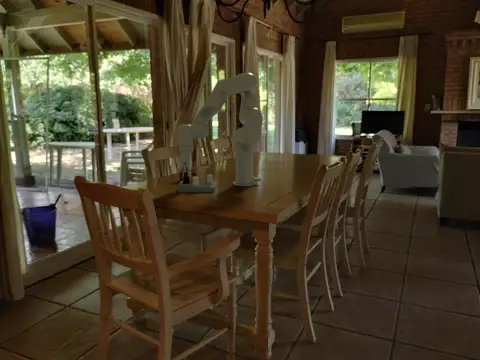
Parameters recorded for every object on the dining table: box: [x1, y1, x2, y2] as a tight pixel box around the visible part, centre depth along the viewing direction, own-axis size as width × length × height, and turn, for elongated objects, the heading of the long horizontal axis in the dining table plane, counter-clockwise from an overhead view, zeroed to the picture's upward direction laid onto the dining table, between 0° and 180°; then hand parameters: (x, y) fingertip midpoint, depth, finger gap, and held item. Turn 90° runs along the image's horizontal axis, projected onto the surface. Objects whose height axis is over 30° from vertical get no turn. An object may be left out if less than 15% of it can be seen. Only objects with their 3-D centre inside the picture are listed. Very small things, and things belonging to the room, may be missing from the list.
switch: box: [193, 176, 199, 186], centre depth 208 cm, size 2×3×5 cm
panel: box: [177, 181, 218, 193], centre depth 212 cm, size 19×12×4 cm, turn 89°
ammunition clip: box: [179, 160, 198, 182], centre depth 235 cm, size 11×2×12 cm, turn 70°
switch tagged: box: [206, 174, 213, 184], centre depth 214 cm, size 2×3×5 cm
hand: (187, 182), depth 212 cm, fingers closed on lockout cap, 4 cm apart
